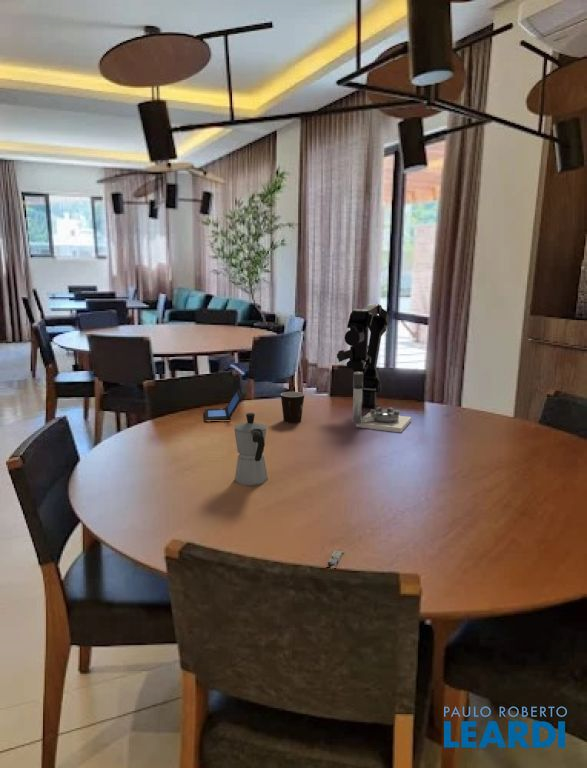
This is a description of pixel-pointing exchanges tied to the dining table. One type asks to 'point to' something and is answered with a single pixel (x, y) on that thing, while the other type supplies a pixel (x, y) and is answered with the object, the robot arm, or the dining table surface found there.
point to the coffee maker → (250, 452)
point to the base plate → (386, 424)
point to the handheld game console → (224, 409)
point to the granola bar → (334, 558)
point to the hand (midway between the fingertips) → (358, 384)
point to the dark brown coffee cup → (292, 406)
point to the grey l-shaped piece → (375, 414)
